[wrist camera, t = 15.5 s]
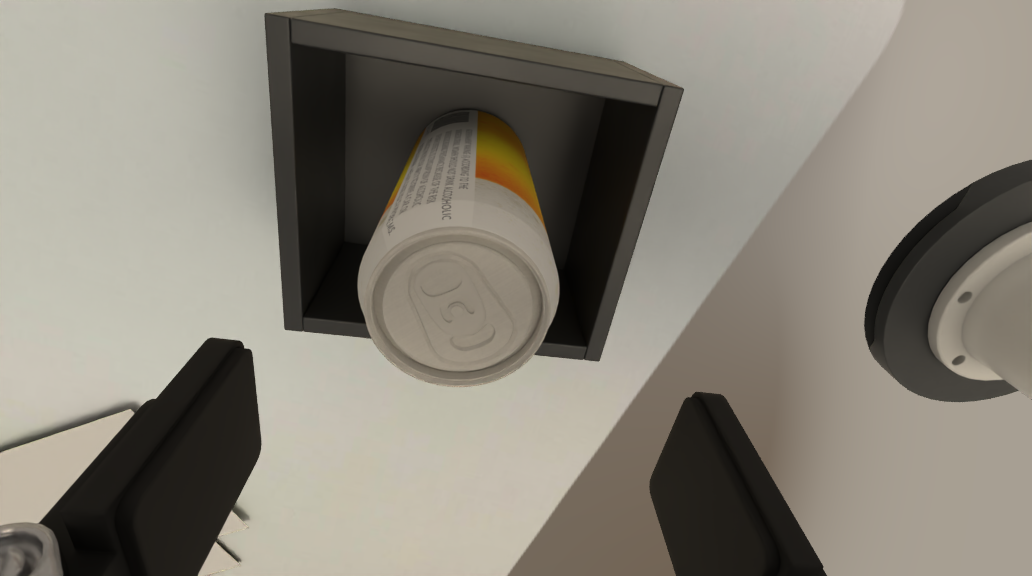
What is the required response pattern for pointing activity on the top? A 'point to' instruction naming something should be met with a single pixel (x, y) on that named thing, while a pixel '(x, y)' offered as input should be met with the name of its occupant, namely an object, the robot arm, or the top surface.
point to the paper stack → (73, 478)
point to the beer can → (460, 258)
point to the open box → (403, 117)
